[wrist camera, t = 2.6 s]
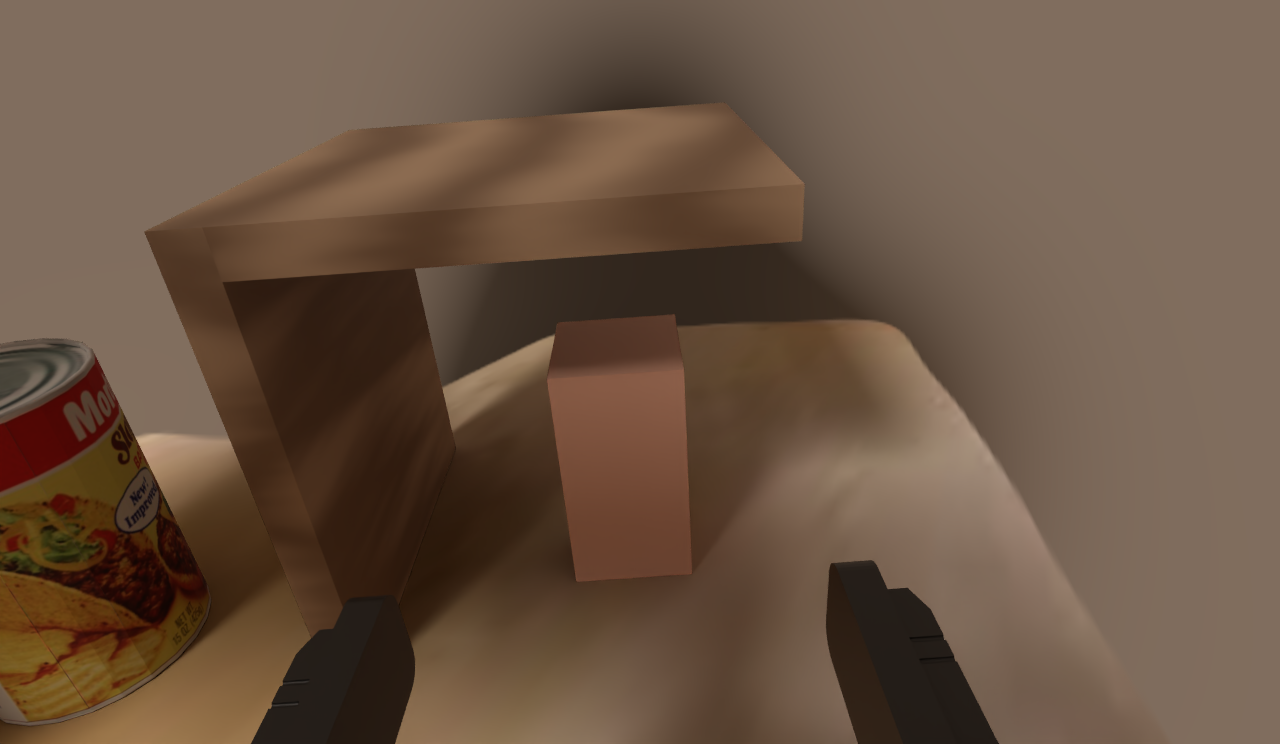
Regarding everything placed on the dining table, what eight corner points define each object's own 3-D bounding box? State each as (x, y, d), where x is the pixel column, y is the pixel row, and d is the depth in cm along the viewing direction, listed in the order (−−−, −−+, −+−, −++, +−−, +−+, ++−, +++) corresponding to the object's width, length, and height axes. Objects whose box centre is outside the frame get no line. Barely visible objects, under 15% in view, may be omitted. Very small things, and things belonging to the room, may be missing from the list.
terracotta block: (576, 581, 30) (546, 379, 26) (582, 507, 35) (557, 322, 30) (692, 574, 30) (683, 369, 25) (682, 500, 35) (674, 314, 30)
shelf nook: (330, 685, 26) (144, 231, 18) (429, 449, 40) (349, 129, 32) (783, 655, 26) (804, 183, 18) (727, 429, 40) (724, 102, 32)
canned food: (250, 605, 30) (137, 358, 25) (45, 762, 24) (-167, 485, 19) (149, 551, 34) (30, 324, 28) (-51, 676, 28) (-253, 422, 22)
